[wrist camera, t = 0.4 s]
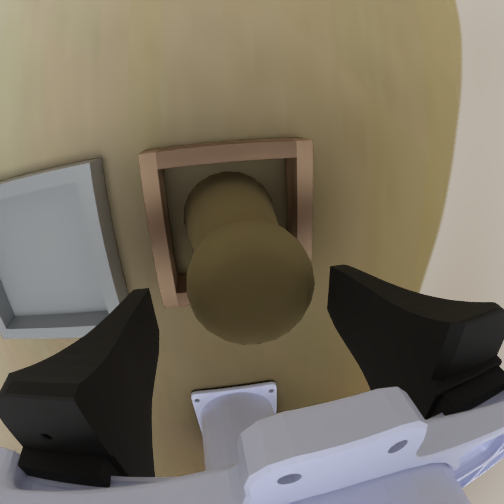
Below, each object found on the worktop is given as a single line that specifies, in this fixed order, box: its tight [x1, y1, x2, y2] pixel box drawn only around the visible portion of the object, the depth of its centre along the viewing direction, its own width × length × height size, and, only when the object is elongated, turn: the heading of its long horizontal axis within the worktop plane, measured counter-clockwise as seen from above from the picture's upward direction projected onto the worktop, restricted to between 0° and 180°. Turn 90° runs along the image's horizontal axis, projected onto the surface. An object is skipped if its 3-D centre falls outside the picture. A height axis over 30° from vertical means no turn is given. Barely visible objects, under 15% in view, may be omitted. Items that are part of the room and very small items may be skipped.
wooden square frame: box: [138, 138, 313, 308], centre depth 20 cm, size 10×10×2 cm
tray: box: [0, 158, 128, 339], centre depth 19 cm, size 12×12×2 cm
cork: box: [184, 172, 315, 345], centre depth 16 cm, size 6×6×11 cm
